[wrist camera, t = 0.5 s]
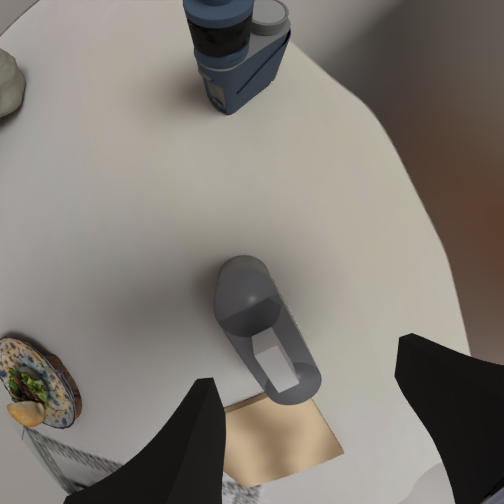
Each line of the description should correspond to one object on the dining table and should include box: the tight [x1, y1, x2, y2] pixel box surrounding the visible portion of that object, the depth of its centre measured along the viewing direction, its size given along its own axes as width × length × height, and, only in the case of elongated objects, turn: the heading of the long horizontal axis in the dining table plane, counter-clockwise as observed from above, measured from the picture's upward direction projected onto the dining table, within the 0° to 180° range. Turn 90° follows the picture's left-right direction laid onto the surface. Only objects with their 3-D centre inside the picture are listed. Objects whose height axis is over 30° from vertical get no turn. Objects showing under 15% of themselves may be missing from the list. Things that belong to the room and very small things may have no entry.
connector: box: [214, 255, 322, 405], centre depth 16 cm, size 4×10×7 cm, turn 27°
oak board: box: [223, 392, 344, 488], centre depth 22 cm, size 12×13×1 cm
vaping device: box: [183, 0, 291, 115], centre depth 11 cm, size 3×5×12 cm, turn 133°
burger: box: [0, 337, 82, 439], centre depth 17 cm, size 12×12×8 cm
